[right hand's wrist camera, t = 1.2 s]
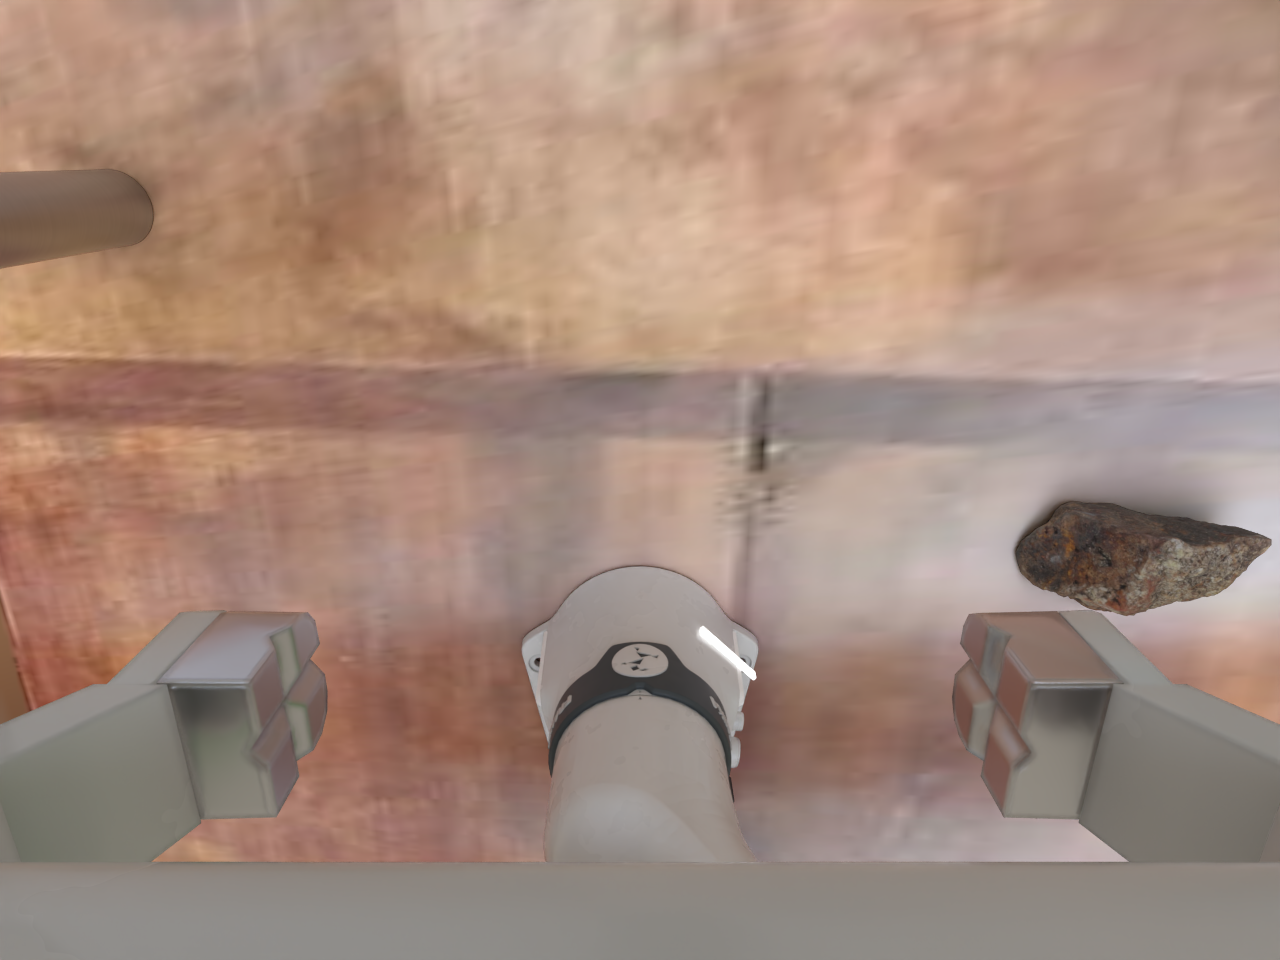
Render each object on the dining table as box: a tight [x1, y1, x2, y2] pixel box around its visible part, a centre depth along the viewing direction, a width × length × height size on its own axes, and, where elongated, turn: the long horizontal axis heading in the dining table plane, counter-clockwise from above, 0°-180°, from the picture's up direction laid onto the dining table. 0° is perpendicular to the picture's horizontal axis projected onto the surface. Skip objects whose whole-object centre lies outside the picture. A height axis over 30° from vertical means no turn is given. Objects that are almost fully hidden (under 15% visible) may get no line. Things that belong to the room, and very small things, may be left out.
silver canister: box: [0, 169, 153, 269], centre depth 45 cm, size 5×5×19 cm
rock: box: [1016, 502, 1271, 616], centre depth 59 cm, size 14×9×10 cm
